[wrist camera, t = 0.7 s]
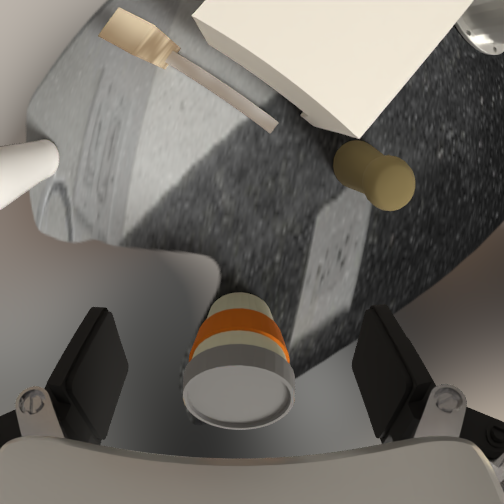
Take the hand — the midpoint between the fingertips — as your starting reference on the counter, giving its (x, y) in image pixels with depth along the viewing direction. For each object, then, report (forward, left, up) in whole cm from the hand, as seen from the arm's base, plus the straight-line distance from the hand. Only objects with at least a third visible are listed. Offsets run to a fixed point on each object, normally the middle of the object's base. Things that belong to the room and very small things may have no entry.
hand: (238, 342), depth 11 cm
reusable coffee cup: (+16, +12, -27) cm, 34 cm away
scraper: (-7, -10, -27) cm, 30 cm away
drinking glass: (+12, -23, -27) cm, 38 cm away
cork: (-10, +10, -27) cm, 31 cm away
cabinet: (-20, -4, -27) cm, 34 cm away
